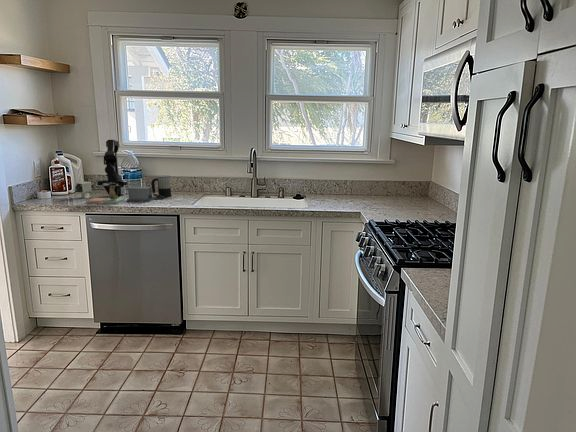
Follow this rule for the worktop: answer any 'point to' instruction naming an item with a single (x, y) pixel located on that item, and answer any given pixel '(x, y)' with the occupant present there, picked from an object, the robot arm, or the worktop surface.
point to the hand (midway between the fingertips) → (113, 195)
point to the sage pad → (114, 201)
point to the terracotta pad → (96, 200)
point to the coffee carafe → (162, 186)
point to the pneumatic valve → (84, 188)
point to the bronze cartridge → (112, 192)
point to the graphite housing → (140, 194)
